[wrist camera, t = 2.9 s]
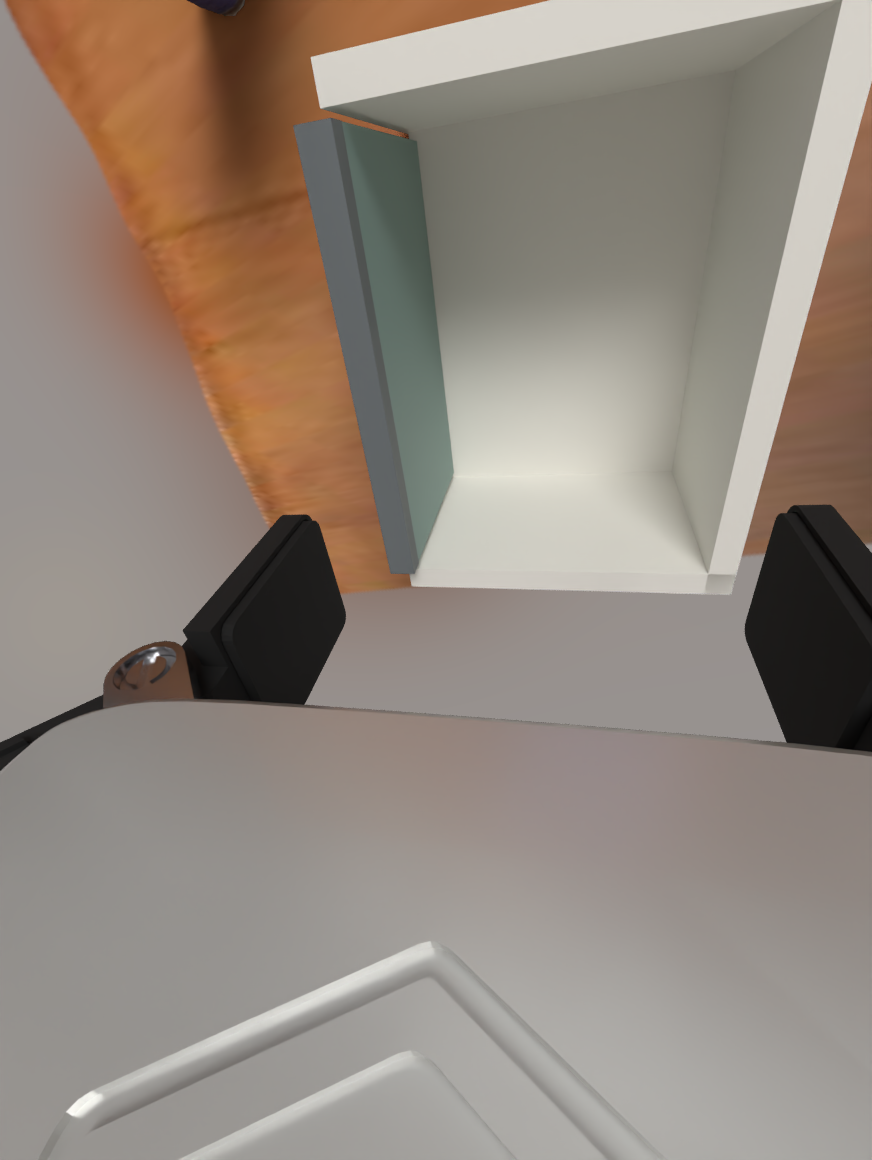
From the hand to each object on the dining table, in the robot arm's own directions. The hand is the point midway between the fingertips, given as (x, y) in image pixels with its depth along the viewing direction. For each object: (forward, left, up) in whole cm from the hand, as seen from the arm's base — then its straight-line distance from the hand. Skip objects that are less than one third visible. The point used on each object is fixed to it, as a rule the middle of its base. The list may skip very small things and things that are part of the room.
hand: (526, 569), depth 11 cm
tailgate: (0, -7, -24) cm, 25 cm away
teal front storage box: (0, +1, -25) cm, 25 cm away
